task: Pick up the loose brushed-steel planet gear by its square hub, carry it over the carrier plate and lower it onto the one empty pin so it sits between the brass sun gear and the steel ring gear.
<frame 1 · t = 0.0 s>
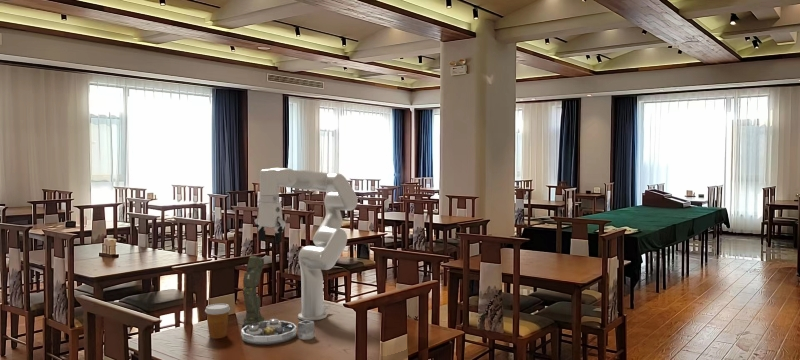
hand: (270, 241, 238), 37 cm above the table, tool pointing down, fingers open, 9 cm apart
disposable coffee cup: (218, 336, 233), on the table
planet gear: (306, 337, 231), on the table
mechanical leg: (253, 324, 249), on the table
carrier: (269, 336, 232), on the table
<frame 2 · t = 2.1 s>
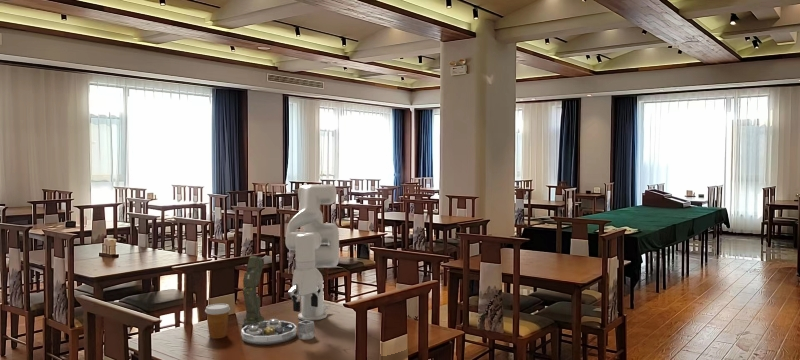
hand: (305, 308, 230), 12 cm above the table, tool pointing down, fingers open, 9 cm apart
nothing on the table moved.
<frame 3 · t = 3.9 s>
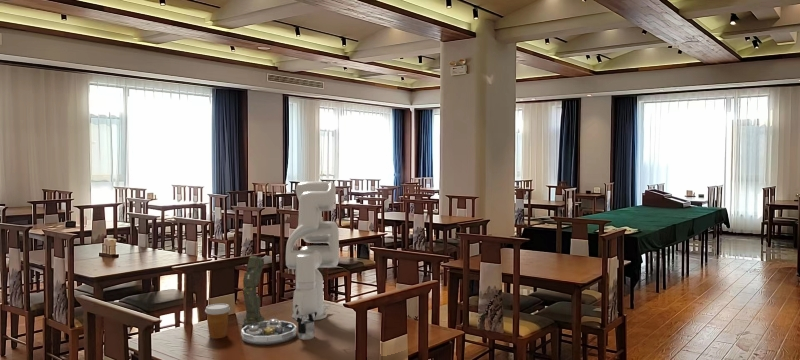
hand: (306, 330, 231), 3 cm above the table, tool pointing down, fingers closed on planet gear, 4 cm apart
planet gear: (306, 337, 231), on the table, touching gripper
everything else where it was.
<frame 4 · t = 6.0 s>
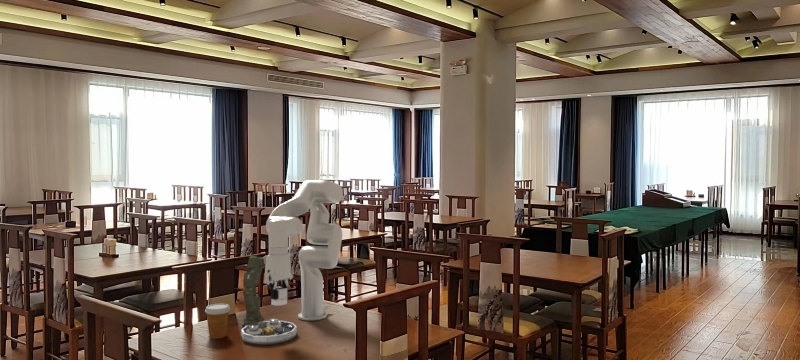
hand: (279, 297, 228), 17 cm above the table, tool pointing down, fingers closed on planet gear, 4 cm apart
planet gear: (279, 303, 228), point 14 cm above the table, touching gripper
everything else where it was.
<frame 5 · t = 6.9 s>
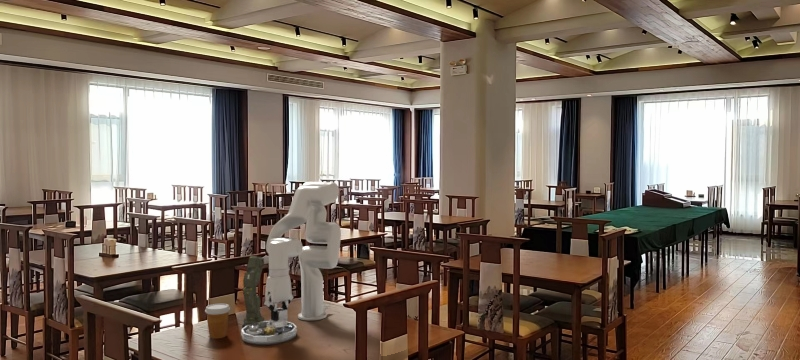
hand: (279, 318, 228), 8 cm above the table, tool pointing down, fingers closed on planet gear, 4 cm apart
planet gear: (279, 325, 228), point 6 cm above the table, touching gripper
everything else where it was.
when the fingers open (5 cm above the table, at t = 7.9 s): planet gear drops 1 cm, resting on carrier.
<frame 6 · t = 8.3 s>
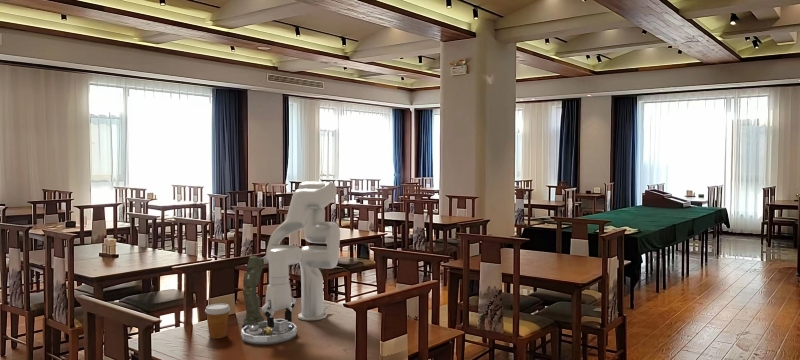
hand: (279, 324, 229), 6 cm above the table, tool pointing down, fingers open, 8 cm apart
planet gear: (279, 335, 229), point 1 cm above the table, touching carrier
everything else where it was.
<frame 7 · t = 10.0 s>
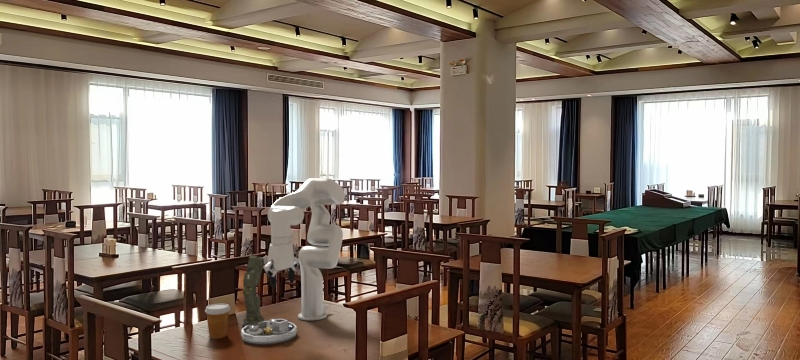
hand: (282, 283, 230), 21 cm above the table, tool pointing down, fingers open, 9 cm apart
nothing on the table moved.
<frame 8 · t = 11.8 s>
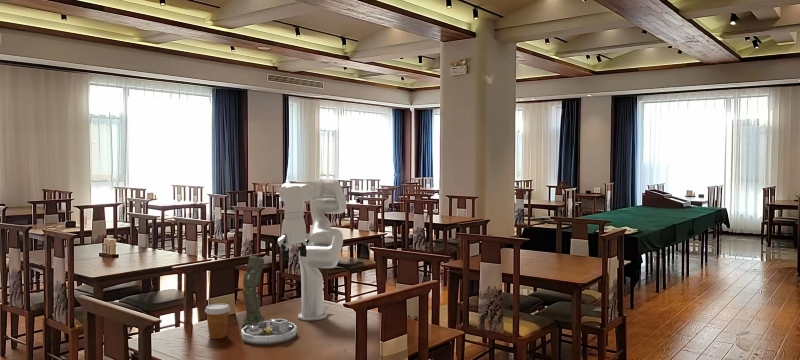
hand: (294, 258, 236), 30 cm above the table, tool pointing down, fingers open, 9 cm apart
nothing on the table moved.
at the end: planet gear 0.1 cm from the target spot on the carrier, point 1.2 cm above the carrier's base; planet gear tilted 0°; the gripper is holding nothing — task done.
